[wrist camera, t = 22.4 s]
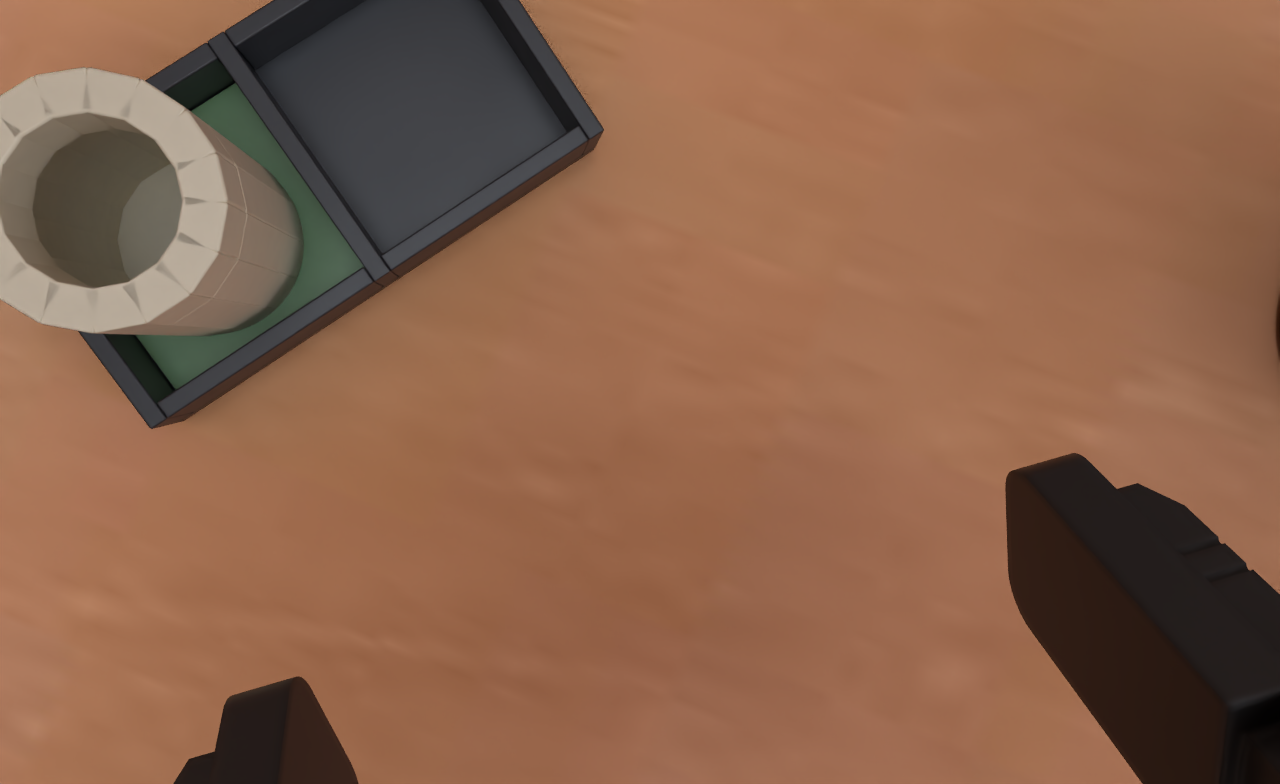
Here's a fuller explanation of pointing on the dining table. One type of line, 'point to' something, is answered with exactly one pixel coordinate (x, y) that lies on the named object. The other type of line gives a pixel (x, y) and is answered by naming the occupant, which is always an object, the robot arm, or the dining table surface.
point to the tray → (360, 158)
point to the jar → (135, 213)
